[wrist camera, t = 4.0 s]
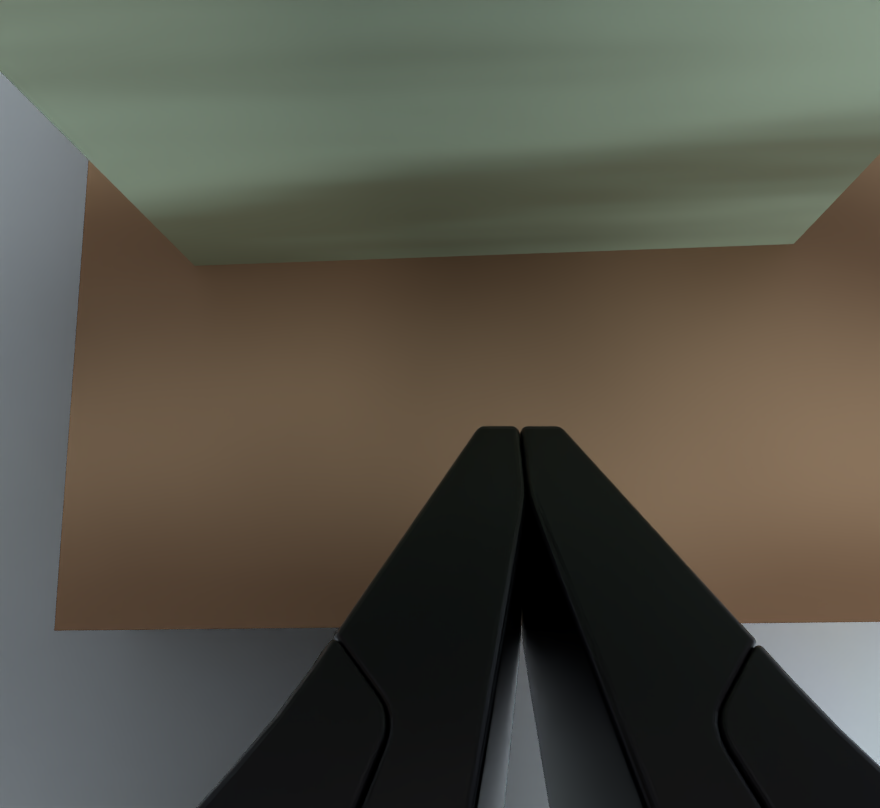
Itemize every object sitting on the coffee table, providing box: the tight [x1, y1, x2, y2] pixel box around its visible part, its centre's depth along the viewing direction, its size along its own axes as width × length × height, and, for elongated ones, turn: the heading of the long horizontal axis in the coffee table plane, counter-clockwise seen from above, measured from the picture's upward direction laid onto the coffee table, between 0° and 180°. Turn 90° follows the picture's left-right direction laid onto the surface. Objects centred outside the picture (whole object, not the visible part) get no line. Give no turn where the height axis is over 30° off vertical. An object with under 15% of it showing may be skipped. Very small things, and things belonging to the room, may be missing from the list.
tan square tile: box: [54, 154, 880, 631], centre depth 15 cm, size 12×14×2 cm
